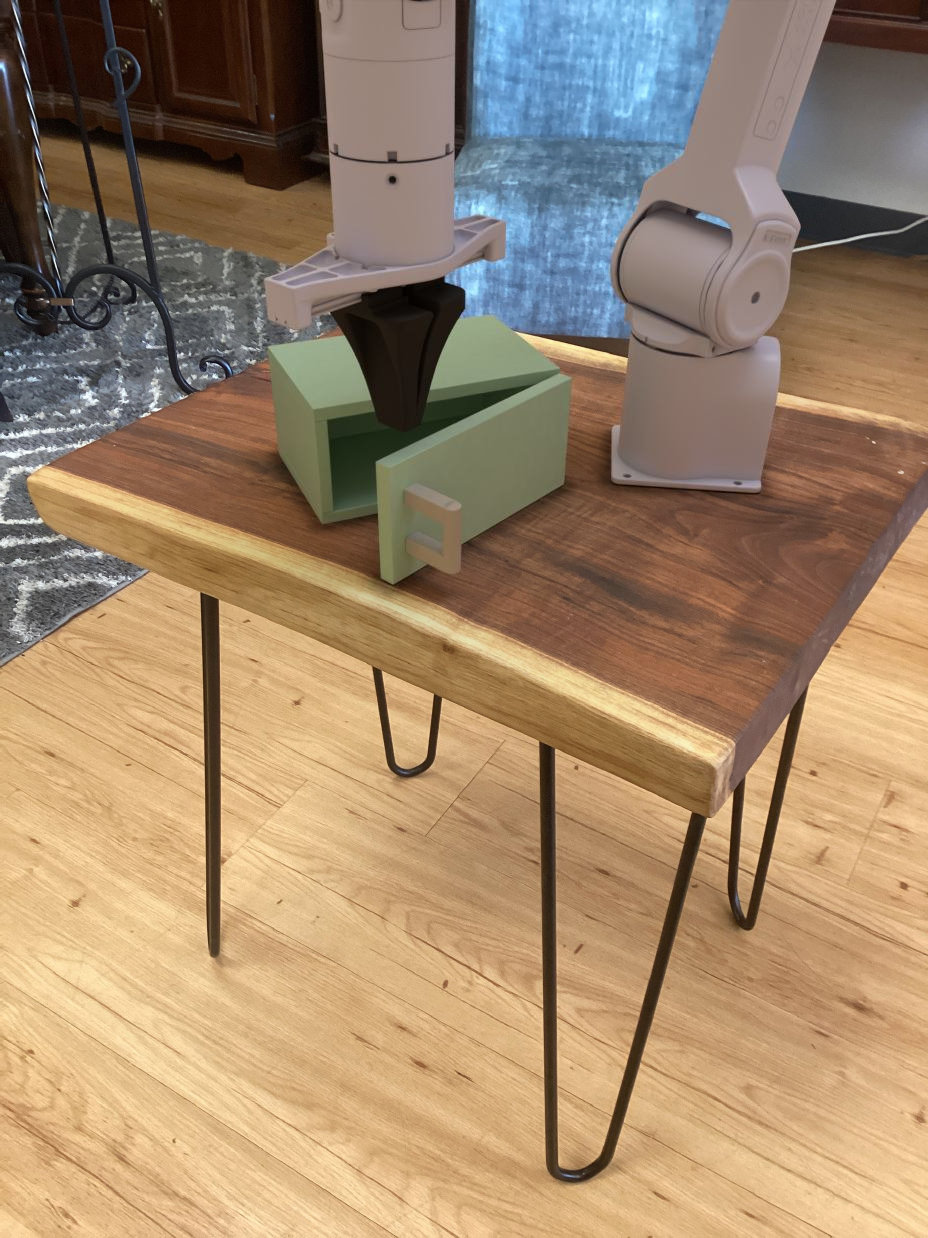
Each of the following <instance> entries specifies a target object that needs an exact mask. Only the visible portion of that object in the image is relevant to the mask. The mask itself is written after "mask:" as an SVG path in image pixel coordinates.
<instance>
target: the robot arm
mask: <svg viewBox="0 0 928 1238" xmlns="http://www.w3.org/2000/svg"><path fill="white" fill-rule="evenodd" d="M836 2H837V0H729V2H728V5H727V8H726V12H725V16H724V19H723V22H722V24H721V29H720V31H719V35H718V39H717V41H716V44H715V49H714V52H713V55H712V58H711V62H710V65H709V68H708V71H707V75H706V78H705V81H704V85H703V88H702V91H701V95H700V98H699V101H698V104H697V107H696V111H695V114H694V118H693V121H692V124H691V128H690V131H689V134H688V137H687V141H686V145H685V147H684V150H683V153H682V154H681V155H680V156H678V157H677V158H676V159H674V160H673V161H672V162H670V163H668V164H667V165H666V166H664V167H663V168H661V169H660V170H658V171H657V172H655V173H654V174H652V175H651V176H650V177H649V178H647V179H646V180H645V182H644V183H643V186H642V189H641V193H640V195H639V198H638V202H637V205H636V207H635V209H634V211H633V212H632V214H631V217H630V218H629V219H628V221H627V222H626V223H625V225H624V226H623V227H622V229H621V231H620V233H619V234H618V236H617V238H616V241H615V244H614V246H613V249H612V253H611V258H610V262H609V264H610V265H609V277H610V283H611V288H612V289H613V291H614V294H615V295H616V296H617V298H618V299H619V300H620V301H621V302H622V303H623V304H625V307H624V317H623V321H624V322H625V323H627V324H628V325H630V334H629V341H628V343H629V344H628V353H627V362H626V371H625V378H624V379H625V381H624V389H623V398H622V409H621V417H620V424H614V425H612V427H611V432H610V433H611V434H610V435H611V438H610V440H611V441H610V442H611V443H610V445H611V446H610V480H611V482H612V483H613V484H616V485H626V486H627V485H628V486H639V487H641V486H642V487H658V488H672V489H686V490H701V491H715V492H716V491H717V492H718V491H719V492H730V493H731V492H732V493H745V494H746V493H747V494H749V493H750V494H756V493H757V494H758V493H760V492H761V489H762V481H761V479H762V474H763V469H764V464H765V461H766V455H767V451H768V445H769V441H770V435H771V431H772V425H773V422H774V421H773V420H774V415H775V410H776V405H777V401H778V394H779V387H780V381H781V380H780V377H781V366H782V365H781V364H782V356H781V355H782V354H781V345H780V341H779V339H778V338H777V337H775V336H770V335H765V334H766V333H767V332H768V331H769V330H770V329H771V327H772V326H773V325H774V324H775V322H776V321H777V319H778V318H779V316H780V315H781V312H782V310H783V309H784V306H785V303H786V300H787V298H788V295H789V290H790V282H791V265H792V264H791V263H792V257H793V252H794V249H795V245H796V241H797V239H798V236H799V233H800V231H801V228H802V227H801V223H800V221H799V218H798V216H797V214H796V212H795V211H794V209H793V207H792V206H791V204H790V202H789V201H788V199H787V197H786V195H785V194H784V192H783V190H782V189H781V187H780V185H779V183H778V181H777V175H778V171H779V168H780V165H781V162H782V160H783V157H784V154H785V150H786V148H787V145H788V142H789V139H790V136H791V133H792V130H793V127H794V124H795V121H796V118H797V116H798V112H799V109H800V107H801V104H802V101H803V98H804V96H805V92H806V89H807V86H808V83H809V81H810V78H811V74H812V73H813V69H814V66H815V63H816V60H817V57H818V54H819V52H820V48H821V45H822V43H823V40H824V37H825V35H826V31H827V29H828V26H829V24H830V23H829V22H830V19H831V17H832V13H833V11H834V7H835V5H836ZM318 8H319V13H320V21H321V42H322V55H323V72H324V75H323V76H324V90H325V91H324V92H325V105H326V107H325V108H326V123H327V140H328V142H327V143H328V158H329V173H330V174H329V175H330V189H331V190H330V191H331V205H332V207H331V208H332V223H333V225H332V226H333V232H329V233H327V235H326V246H325V247H324V248H322V249H320V250H319V251H317V252H316V253H314V254H312V255H310V256H309V257H306V258H305V259H304V260H302V261H300V262H299V263H297V264H295V265H293V266H291V267H289V268H288V269H286V270H284V271H281V272H279V273H276V274H273V275H270V276H268V277H264V278H263V282H264V283H263V284H264V292H265V304H266V313H267V320H269V321H270V322H273V323H275V324H277V325H281V326H283V327H285V328H289V329H291V330H294V331H299V330H302V329H305V328H308V327H311V326H312V325H313V319H314V318H317V317H319V316H320V317H321V316H322V315H326V314H330V316H331V317H332V318H333V320H334V321H335V322H336V324H337V326H338V327H339V329H340V330H341V332H342V334H343V335H345V337H346V339H347V341H348V342H349V344H350V346H351V348H352V350H353V352H354V354H355V356H356V358H357V361H358V363H359V365H360V368H361V370H362V373H363V376H364V378H365V381H366V384H367V387H368V390H369V393H370V396H371V400H372V403H373V406H374V410H375V413H376V417H377V420H378V422H379V423H381V424H384V425H386V426H388V427H391V428H393V429H395V430H398V431H400V432H406V431H409V430H411V429H413V428H415V427H417V426H419V425H421V421H422V418H423V414H424V410H425V406H426V402H427V398H428V394H429V391H430V387H431V383H432V380H433V376H434V373H435V369H436V366H437V363H438V361H439V358H440V355H441V353H442V350H443V348H444V346H445V344H446V341H447V339H448V337H449V335H450V333H451V331H452V329H453V327H454V326H455V324H456V322H457V321H458V319H460V318H461V316H462V314H463V313H464V311H465V310H466V297H467V296H466V294H467V293H466V292H467V291H466V290H465V289H464V288H463V287H461V286H459V285H456V284H453V283H451V282H446V276H448V275H449V274H451V273H452V272H454V271H455V270H456V269H459V268H463V267H465V266H468V265H471V264H475V263H476V262H480V261H483V260H484V261H485V262H490V263H494V262H495V263H496V262H498V261H501V260H503V259H505V258H506V244H507V241H506V240H507V221H506V220H503V219H500V218H495V217H492V216H488V215H484V214H480V213H477V214H473V215H468V216H465V217H460V218H455V119H456V117H455V114H456V113H455V110H456V109H455V108H456V107H455V103H456V99H455V96H456V93H455V92H456V91H455V90H456V86H455V85H456V0H318ZM702 213H703V214H705V215H709V216H712V217H714V218H718V219H720V220H722V221H723V222H725V223H726V224H727V226H728V227H726V226H723V225H720V224H717V223H714V222H712V221H708V220H706V219H702V218H700V217H698V216H699V215H700V214H702Z"/></svg>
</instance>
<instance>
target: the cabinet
mask: <svg viewBox="0 0 928 1238" xmlns="http://www.w3.org/2000/svg"><path fill="white" fill-rule="evenodd" d="M267 355H268V356H267V357H268V364H269V374H270V380H271V381H270V382H271V383H270V384H271V391H272V402H273V403H272V404H273V410H274V411H273V412H274V420H275V430H276V439H277V450H278V455H279V457H280V458H281V460H282V462H283V463H284V465H285V466H286V468H287V469H288V471H289V473H290V474H291V476H292V478H293V479H294V481H295V482H296V485H297V486H298V487H299V489H300V490H301V493H302V494H303V495H304V497H305V500H306V501H307V502H308V503H309V504H308V505H310V507H311V508H312V510H313V511H314V514H315V515H316V517H317V519H318V520H319V521H320V523H321V525H326V524H331V523H336V522H340V521H341V522H342V521H347V520H351V519H356V518H360V517H365V516H370V515H375V514H378V503H377V480H376V461H378V460H380V459H382V458H384V457H386V456H388V455H390V454H393V453H395V452H397V451H399V450H401V449H403V448H405V447H407V446H409V445H411V444H413V443H415V442H417V441H420V440H422V439H424V438H426V437H428V436H430V435H432V434H434V433H436V432H438V431H440V430H442V429H445V428H447V427H449V426H451V425H453V424H455V423H457V422H459V421H461V420H463V419H465V418H467V417H470V416H472V415H474V414H476V413H478V412H480V411H482V410H484V409H486V408H488V407H490V406H492V405H494V404H497V403H499V402H501V401H503V400H505V399H507V398H509V397H511V396H513V395H515V394H517V393H519V392H522V391H524V390H526V389H528V388H530V387H532V386H534V385H536V384H538V383H540V382H542V381H544V380H547V379H549V378H551V377H553V376H555V375H557V374H559V373H560V374H561V367H560V366H558V365H557V364H555V362H553V361H552V360H551V359H549V358H548V357H547V356H546V355H544V353H542V352H540V350H538V349H537V348H535V347H534V346H533V345H532V344H530V343H529V342H528V341H527V340H525V339H524V338H523V337H522V336H521V335H519V334H518V333H517V332H516V331H514V330H513V329H512V328H510V327H509V326H508V325H507V324H506V323H504V322H503V321H502V320H500V319H499V318H498V317H496V316H495V315H494V314H493V313H490V314H483V315H476V316H469V317H462V318H461V317H460V318H459V319H458V321H457V322H456V324H455V326H454V327H453V329H452V331H451V333H450V335H449V337H448V339H447V341H446V344H445V346H444V348H443V350H442V353H441V355H440V358H439V361H438V363H437V366H436V369H435V373H434V376H433V380H432V383H431V387H430V391H429V394H428V398H427V402H426V406H425V410H424V414H423V418H422V421H421V425H419V426H417V427H415V428H413V429H411V430H409V431H406V432H400V431H398V430H395V429H393V428H391V427H388V426H386V425H384V424H381V423H379V422H378V420H377V417H376V413H375V410H374V406H373V403H372V400H371V396H370V393H369V390H368V387H367V384H366V381H365V378H364V376H363V373H362V370H361V368H360V365H359V363H358V361H357V358H356V356H355V354H354V352H353V350H352V348H351V346H350V344H349V342H348V341H347V339H346V337H345V335H344V334H343V335H336V336H330V337H321V338H317V339H309V340H302V341H295V342H288V343H280V344H275V345H268V346H267Z"/></svg>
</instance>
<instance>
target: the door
mask: <svg viewBox="0 0 928 1238" xmlns="http://www.w3.org/2000/svg"><path fill="white" fill-rule="evenodd" d="M572 386H573V377H572V376H570V375H567V374H564V373H561V372H560V373H559V374H557V375H555V376H553V377H551V378H549V379H547V380H544V381H542V382H540V383H538V384H536V385H534V386H532V387H530V388H528V389H526V390H524V391H522V392H519V393H517V394H515V395H513V396H511V397H509V398H507V399H505V400H503V401H501V402H499V403H497V404H494V405H492V406H490V407H488V408H486V409H484V410H482V411H480V412H478V413H476V414H474V415H472V416H470V417H467V418H465V419H463V420H461V421H459V422H457V423H455V424H453V425H451V426H449V427H447V428H445V429H442V430H440V431H438V432H436V433H434V434H432V435H430V436H428V437H426V438H424V439H422V440H420V441H417V442H415V443H413V444H411V445H409V446H407V447H405V448H403V449H401V450H399V451H397V452H395V453H393V454H390V455H388V456H386V457H384V458H382V459H380V460H378V461H376V480H377V503H378V513H377V524H378V546H379V548H378V549H379V566H380V567H379V569H380V579H381V580H383V581H385V582H387V583H389V584H391V585H392V586H393V585H395V584H398V583H399V582H400V581H402V580H404V579H406V578H407V577H409V576H410V575H412V574H414V573H416V572H418V571H419V570H421V569H422V568H424V567H426V566H428V565H429V566H430V567H433V568H434V569H437V570H439V571H440V572H443V573H445V574H446V575H456V574H458V573H461V570H462V545H463V544H465V543H467V542H468V541H470V540H471V539H473V538H475V537H477V536H479V535H481V534H482V533H484V532H485V531H487V530H489V529H491V528H493V527H494V526H496V525H497V524H499V523H500V522H502V521H504V520H506V519H507V518H509V517H511V516H512V515H514V514H516V513H518V512H519V511H521V510H523V509H524V508H526V507H528V506H529V505H532V504H533V503H535V502H536V501H538V500H540V499H542V498H543V497H544V496H546V495H548V494H550V493H552V492H553V491H555V490H558V488H560V487H562V486H563V485H565V476H566V466H567V465H566V464H567V451H568V438H569V427H570V414H571V413H570V411H571V399H572V388H573V387H572Z"/></svg>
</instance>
